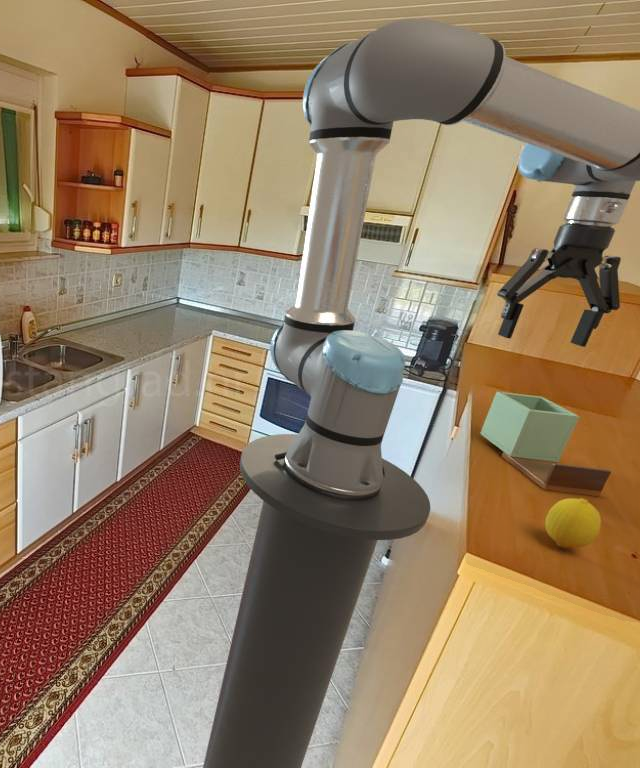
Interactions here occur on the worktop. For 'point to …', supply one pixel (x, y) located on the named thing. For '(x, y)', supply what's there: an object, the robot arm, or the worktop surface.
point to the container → (528, 426)
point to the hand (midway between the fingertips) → (540, 340)
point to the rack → (561, 475)
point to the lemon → (573, 523)
